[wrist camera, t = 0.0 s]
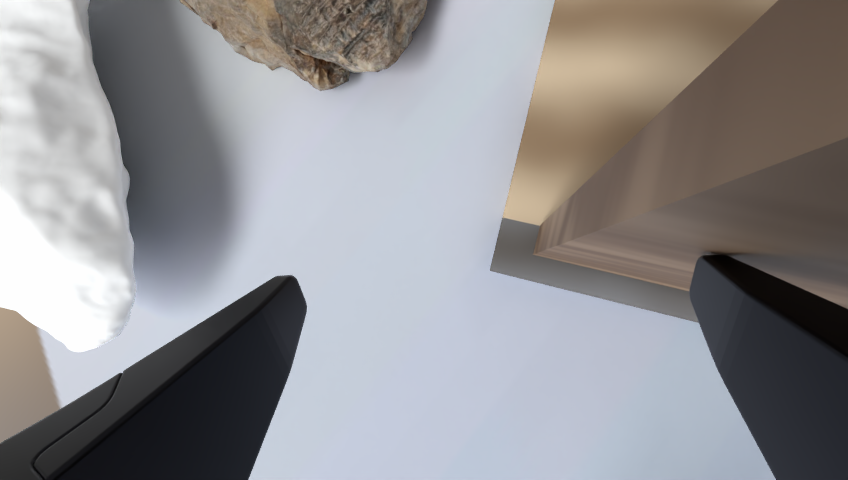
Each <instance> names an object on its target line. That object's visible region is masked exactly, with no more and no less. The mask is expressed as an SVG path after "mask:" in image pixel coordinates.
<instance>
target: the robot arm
mask: <svg viewBox="0 0 848 480" xmlns="http://www.w3.org/2000/svg"><path fill="white" fill-rule="evenodd" d="M689 297H690V301H691V304H692V306H693V309H694V311H695V314H696V316H697V319H698V322H699V324H700V327H701V329H702V332H703V334H704V337H705V340H706V342H707V345H708V347H709V350H710V352H711V355H712V357H713V360H714V362H715V365H716V367H717V369H718V371H719V373H720V375H721V377H722V379H723V381H724V383H725V385H726V387H727V389H728V391H729V393H730V394H731V396H732V398H733V400H734V402H735V404H736V406H737V408H738V409H739V411H740V413H741V415H742V417H743V419H744V421H745V422H746V424H747V426H748V428H749V430H750V432H751V434H752V436H753V437H754V439H755V441H756V443H757V445H758V447H759V449H760V450H761V452H762V454H763V456H764V458H765V460H766V462H767V464H768V465H769V467H770V469H771V471H772V473H773V475H774V477H775V478H776V480H848V309H847V308H845V307H842V306H840V305H838V304H836V303H833V302H831V301H829V300H827V299H824V298H822V297H820V296H818V295H815V294H813V293H811V292H809V291H806V290H804V289H802V288H800V287H797V286H795V285H793V284H791V283H788V282H786V281H784V280H782V279H779V278H777V277H775V276H773V275H770V274H768V273H766V272H764V271H761V270H759V269H757V268H755V267H752V266H750V265H748V264H746V263H743V262H741V261H739V260H737V259H734V258H732V257H730V256H728V255H720V254H718V255H703V256H701V257H699V258H698V260H697V262H696V265H695V269H694V273H693V277H692V281H691V285H690V289H689ZM306 312H307V305H306V301H305V298H304V296H303V293H302V291H301V288H300V286H299V283H298V281H297V279H296V278H295V277H294V276H292V275H286V276H276V277H274V278H272V279H271V280H269V281H267V282H266V283H264V284H263V285H261V286H259V287H258V288H256V289H254V290H253V291H251V292H250V293H248V294H246V295H245V296H243V297H242V298H240V299H238V300H237V301H235V302H234V303H232V304H230V305H229V306H227V307H225V308H224V309H222V310H221V311H219V312H217V313H216V314H214V315H213V316H211V317H209V318H208V319H206V320H205V321H203V322H201V323H200V324H198V325H196V326H195V327H193V328H192V329H190V330H188V331H187V332H185V333H184V334H182V335H180V336H179V337H177V338H175V339H174V340H172V341H171V342H169V343H167V344H166V345H164V346H163V347H161V348H159V349H158V350H156V351H155V352H153V353H151V354H150V355H148V356H146V357H145V358H143V359H142V360H140V361H138V362H137V363H135V364H134V365H132V366H130V367H129V368H127V369H126V370H124V371H123V373H119V374H117V375H116V376H114V377H112V378H111V379H109V380H108V381H106V382H104V383H103V384H101V385H100V386H98V387H96V388H95V389H93V390H91V391H90V392H88V393H86V394H85V395H83V396H81V397H80V398H78V399H76V400H75V401H73V402H71V403H70V404H68V405H66V406H65V407H63V408H61V409H59V410H58V411H56V412H54V413H52V414H51V415H49V416H47V417H46V418H44V419H42V420H40V421H39V422H37V423H35V424H33V425H32V426H30V427H28V428H26V429H24V430H23V431H21V432H19V433H17V434H16V435H14V436H12V437H10V438H8V439H7V440H5V441H3V442H1V443H0V480H248V479H249V476H250V474H251V471H252V469H253V466H254V464H255V461H256V458H257V456H258V453H259V451H260V448H261V446H262V443H263V441H264V438H265V435H266V433H267V430H268V428H269V425H270V423H271V420H272V417H273V415H274V412H275V410H276V407H277V405H278V402H279V399H280V397H281V394H282V392H283V389H284V387H285V384H286V382H287V379H288V376H289V373H290V370H291V367H292V364H293V360H294V357H295V353H296V349H297V346H298V342H299V338H300V335H301V331H302V327H303V323H304V320H305V316H306Z"/></svg>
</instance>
